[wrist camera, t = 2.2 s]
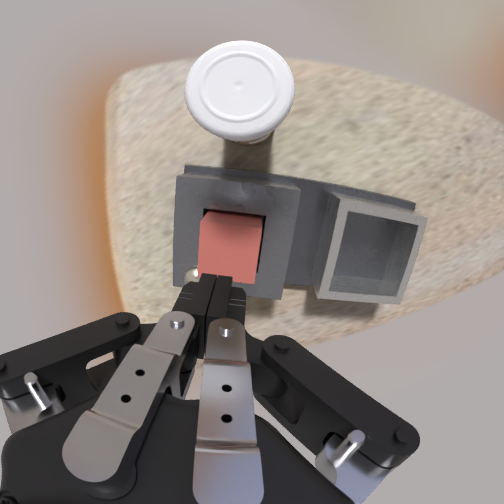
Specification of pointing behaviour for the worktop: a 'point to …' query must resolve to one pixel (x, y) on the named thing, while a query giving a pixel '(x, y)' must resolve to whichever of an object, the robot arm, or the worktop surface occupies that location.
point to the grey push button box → (304, 233)
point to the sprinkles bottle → (240, 91)
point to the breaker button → (229, 244)
